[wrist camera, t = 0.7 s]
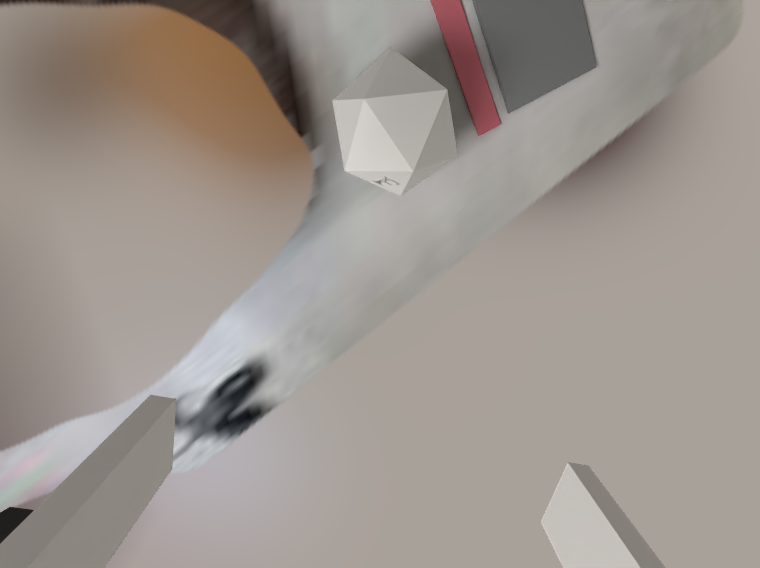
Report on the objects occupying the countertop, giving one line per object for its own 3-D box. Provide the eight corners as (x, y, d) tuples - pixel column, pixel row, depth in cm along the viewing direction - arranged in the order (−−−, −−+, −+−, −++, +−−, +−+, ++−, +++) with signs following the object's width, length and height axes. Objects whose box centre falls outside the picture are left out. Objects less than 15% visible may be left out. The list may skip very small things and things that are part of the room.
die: (309, 115, 28) (323, 197, 22) (370, 2, 23) (406, 73, 17) (390, 157, 32) (417, 233, 27) (456, 71, 27) (505, 144, 22)
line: (391, -110, 24) (392, -112, 24) (418, -124, 24) (418, -126, 24) (478, 135, 30) (479, 135, 29) (499, 124, 30) (500, 124, 29)
